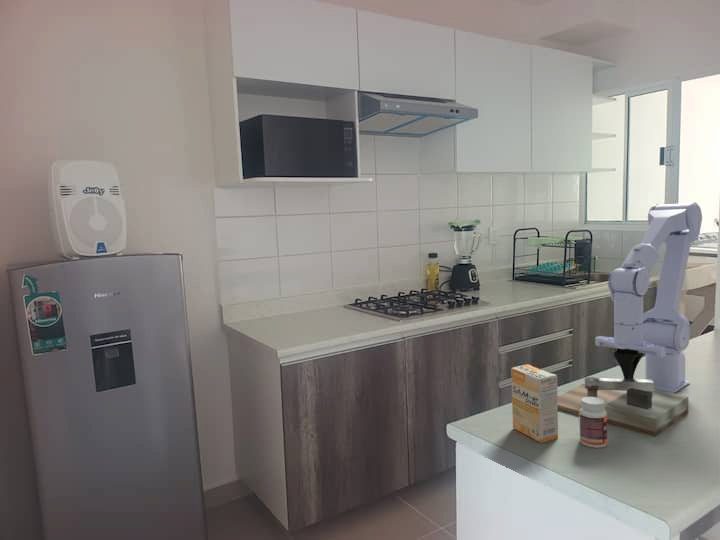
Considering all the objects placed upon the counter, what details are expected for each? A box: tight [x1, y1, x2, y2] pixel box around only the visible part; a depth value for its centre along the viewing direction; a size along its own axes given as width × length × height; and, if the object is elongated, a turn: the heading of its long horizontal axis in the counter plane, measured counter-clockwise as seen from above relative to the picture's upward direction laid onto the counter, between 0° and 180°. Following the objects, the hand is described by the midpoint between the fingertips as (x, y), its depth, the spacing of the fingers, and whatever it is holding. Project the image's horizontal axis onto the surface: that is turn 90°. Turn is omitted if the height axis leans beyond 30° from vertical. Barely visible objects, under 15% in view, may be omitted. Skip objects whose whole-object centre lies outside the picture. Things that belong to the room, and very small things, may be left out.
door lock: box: [557, 383, 689, 437], centre depth 111 cm, size 16×23×6 cm
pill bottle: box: [578, 397, 608, 449], centre depth 96 cm, size 5×5×8 cm
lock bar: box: [584, 376, 654, 392], centre depth 112 cm, size 14×3×2 cm, turn 74°
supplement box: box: [510, 363, 559, 444], centre depth 102 cm, size 8×5×13 cm, turn 23°
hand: (629, 382), depth 114 cm, fingers closed, pressing on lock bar
